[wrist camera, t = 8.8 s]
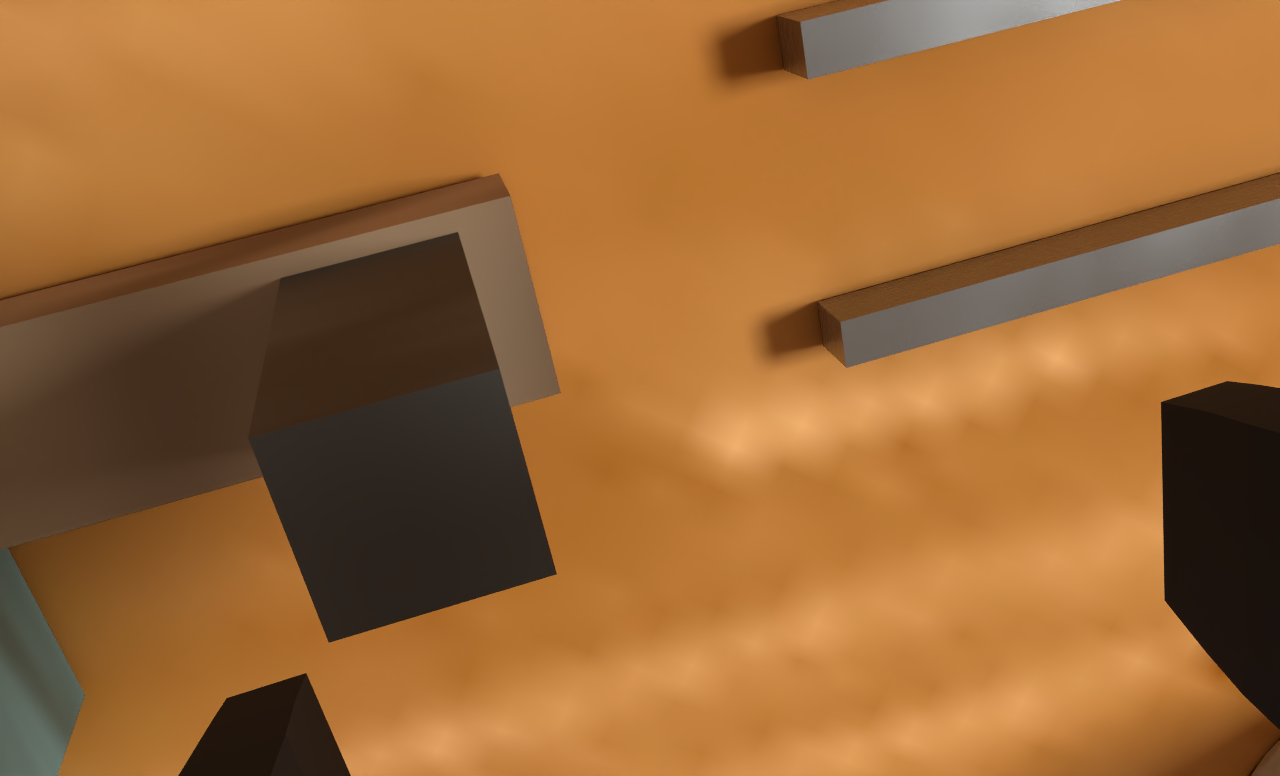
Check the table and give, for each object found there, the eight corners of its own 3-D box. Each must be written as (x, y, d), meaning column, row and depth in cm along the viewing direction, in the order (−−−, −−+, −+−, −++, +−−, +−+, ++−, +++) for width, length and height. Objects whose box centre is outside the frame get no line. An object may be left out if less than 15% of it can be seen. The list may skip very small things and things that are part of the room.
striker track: (1553, -175, 18) (1614, -179, 18) (1510, 150, 21) (1563, 162, 20) (776, 15, 17) (800, 21, 16) (823, 346, 19) (846, 367, 18)
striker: (432, -82, 15) (480, -70, 9) (594, 543, 19) (693, 814, 14) (-372, 99, 14) (-887, 240, 8) (-12, 723, 18) (-182, 1105, 12)
